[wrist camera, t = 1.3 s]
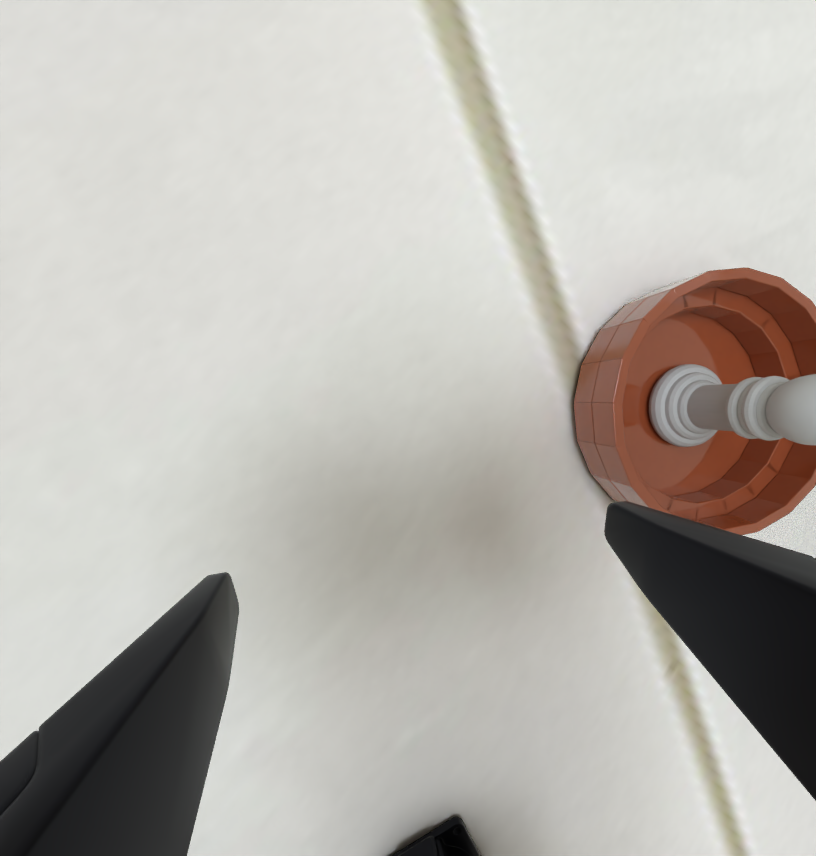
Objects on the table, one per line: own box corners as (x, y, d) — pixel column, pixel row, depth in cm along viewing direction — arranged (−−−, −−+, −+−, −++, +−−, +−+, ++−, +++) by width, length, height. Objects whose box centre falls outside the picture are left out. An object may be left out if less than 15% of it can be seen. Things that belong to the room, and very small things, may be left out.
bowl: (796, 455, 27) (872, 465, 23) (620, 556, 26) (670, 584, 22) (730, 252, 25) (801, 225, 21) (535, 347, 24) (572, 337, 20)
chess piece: (670, 462, 25) (844, 495, 16) (630, 396, 25) (790, 395, 16) (728, 413, 26) (928, 420, 17) (691, 348, 25) (880, 319, 16)
